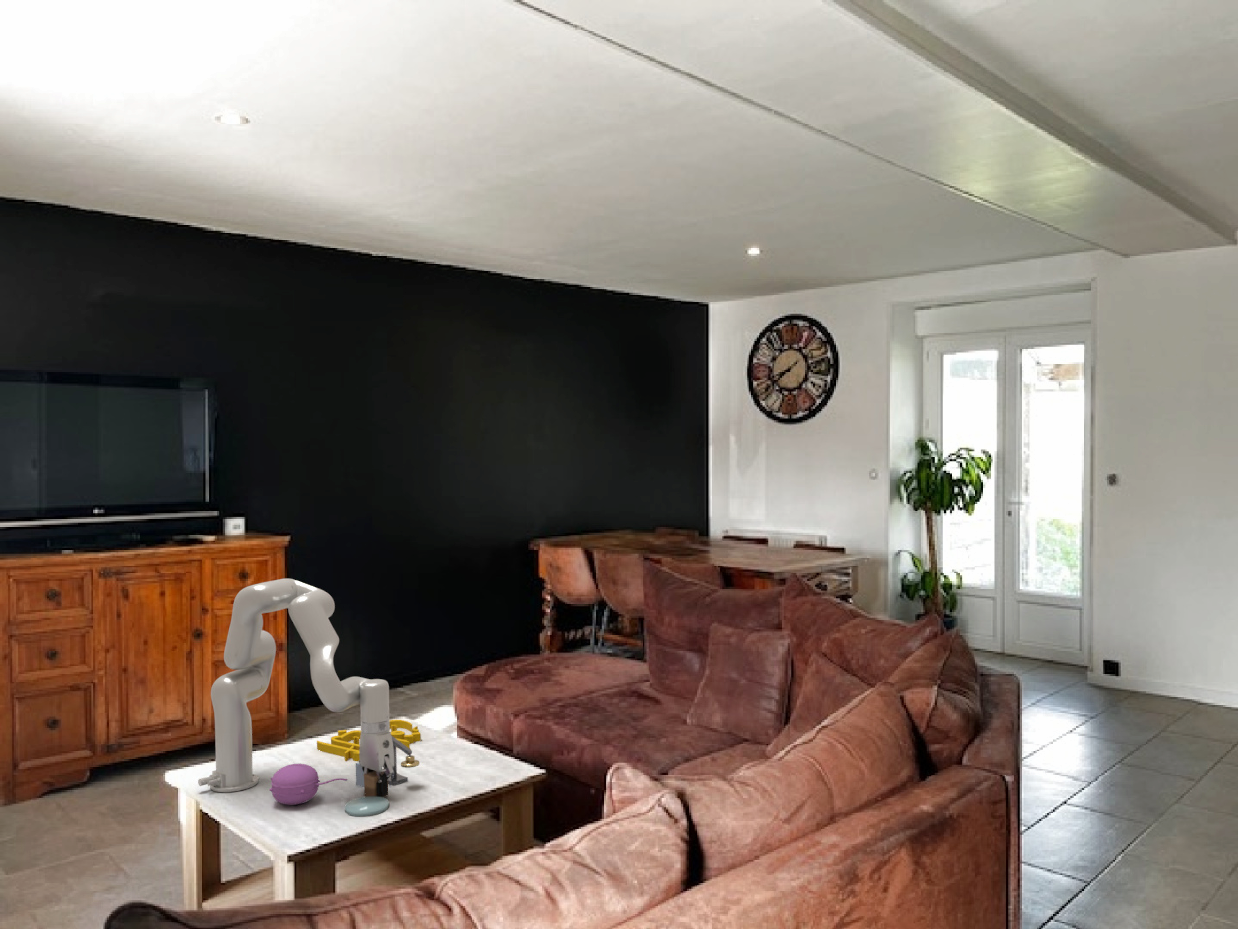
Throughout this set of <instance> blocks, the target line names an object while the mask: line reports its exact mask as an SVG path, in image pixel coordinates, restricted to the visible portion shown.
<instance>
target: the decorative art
mask: <svg viewBox="0 0 1238 929" xmlns="http://www.w3.org/2000/svg"><path fill="white" fill-rule="evenodd" d="M389 724H390V732H391V736H393V737H394V738H395V739H397V740H398V741H400V742H401V743H402V744H404V745H405V746H406V747H408V748H409V749H410V746H411V745H413V744H414V743H415V742H421V735H422V734H421V731H420V730H419V728H418V725H417V726H414V727H413V723H412V722H409V721H408V720H404V719H389ZM398 729H404V730H407V731H409V732H411V734H406V733H405V731H402V730H398ZM360 736H361V729H359V730H358V729H356V730H350V731H348V730H347V729H342V730H341V729H340V730H339V729H338V730H337V735H334V736H332V737H331V738H330V743H328V742H323V741H320V740H316V750H317V751H319V750H320V751H319V752H321V751H322V753H326V754H330V755H335V756H338V757H344V762H347V761H348V760H349V759H351V760H352V761H353V762H359V760H360V740H359V739H360ZM351 740H352V742H351ZM397 748H398V747H396V749H397ZM398 749H399V748H398ZM410 750H411V749H410Z"/></svg>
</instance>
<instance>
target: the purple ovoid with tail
mask: <svg viewBox="0 0 1238 929" xmlns="http://www.w3.org/2000/svg"><path fill="white" fill-rule="evenodd" d="M319 778H320V777H319V774H318V772H317V770H316V769H315V768H314V767H313V766H312V765H309V764H307V763H306V764H305V763H291V764H287V765H285V766H282V767H281V768H279V769H278V770H276V772H275V773H274V774H273V776H272V777H270V780H271V782H270V784H271V787H270V788H269V791H271V794H272V797H273V799H274V800H275V801H277V802H278V803H280V804H282V805H287V806H289V805H290V806H295V805H300V804H303V803H306V802H308V801H310V800H312V799H313V798H314V796H315V795H316V794H317V792H318V790H319V787H320V786H324V785H325V784H326V785H327V784H328V783H331V782H336V781H346V782H347V781H348V779H347V778H343V777H342V778H341V777H340V778H333V779H330V780H327V781H324V782H321V780H320V779H319Z"/></svg>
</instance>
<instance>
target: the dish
mask: <svg viewBox="0 0 1238 929" xmlns="http://www.w3.org/2000/svg"><path fill="white" fill-rule="evenodd" d="M389 802H390V801H389V799H388V798H387V797H386V798H385V797H378V796H369V797H365V796H362V797H359V798H354V799H351V800H349V801H347V803H345V805H344V813H345V814H346V815H349V816H351V817H370V816H371V817H372V816H376V815H379V814H381V813H384V812H385V811H387V810H388V809H389V807H390V806H389V804H390V803H389Z"/></svg>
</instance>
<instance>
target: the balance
mask: <svg viewBox="0 0 1238 929" xmlns="http://www.w3.org/2000/svg"><path fill="white" fill-rule="evenodd" d="M392 741H393V750H394V767H393V771H394V772H393V774H392V775H390V777H389V780H388V786H389V785H390V786H392V787H393V786H396V785H400V784H402V783H406V782H408V781H409V780H408V777H407V776H404V775H402V774H399V773H398V767H397V762H398V761H397V748H396V747H398V749H399V750H400V751H401V752H402V753H404V754H405V755H407V756H405V760H403V761H401V762H400V767H402V768H415V767H418V766H419V765H420V760H418V759H415V755H412V754H413V750H411V749H409V748H408V747H406V746H405V745H404V744H402V743H401V742H400V741H398V740H397V739H395V738H394V737H393V736H392Z"/></svg>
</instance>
